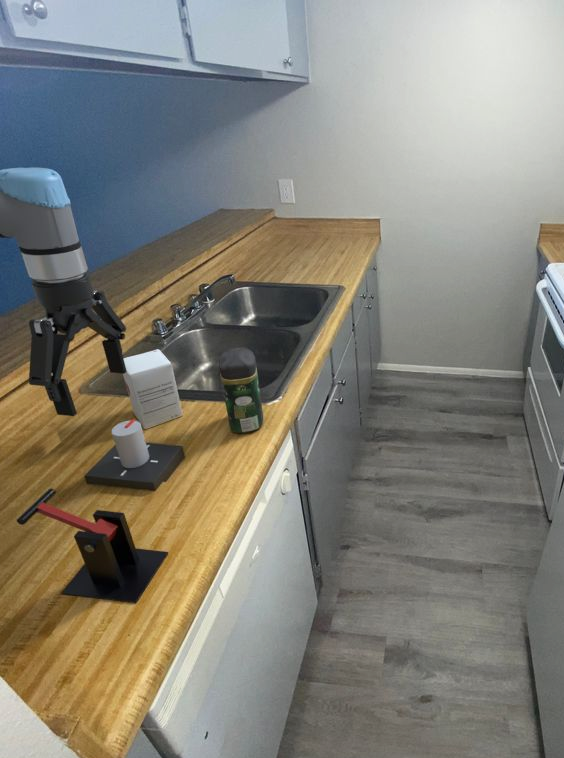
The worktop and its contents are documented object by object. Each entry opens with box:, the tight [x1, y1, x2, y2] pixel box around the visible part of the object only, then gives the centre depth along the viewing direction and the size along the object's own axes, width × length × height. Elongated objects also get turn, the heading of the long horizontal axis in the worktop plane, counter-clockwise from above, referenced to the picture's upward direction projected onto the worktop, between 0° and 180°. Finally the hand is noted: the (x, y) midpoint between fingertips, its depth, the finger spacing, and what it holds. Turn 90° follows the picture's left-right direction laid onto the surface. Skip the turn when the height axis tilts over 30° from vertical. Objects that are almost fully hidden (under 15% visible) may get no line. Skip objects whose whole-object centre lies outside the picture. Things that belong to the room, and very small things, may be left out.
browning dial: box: [111, 418, 149, 468], centre depth 93 cm, size 5×5×8 cm
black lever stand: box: [60, 509, 169, 604], centre depth 73 cm, size 12×9×12 cm
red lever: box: [16, 488, 117, 541], centre depth 70 cm, size 12×6×2 cm, turn 85°
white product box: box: [122, 348, 183, 430], centre depth 110 cm, size 9×9×15 cm
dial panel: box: [84, 442, 186, 492], centre depth 96 cm, size 14×11×3 cm
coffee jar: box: [218, 347, 264, 434], centre depth 108 cm, size 10×8×19 cm
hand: (94, 391), depth 82 cm, fingers open, 13 cm apart
